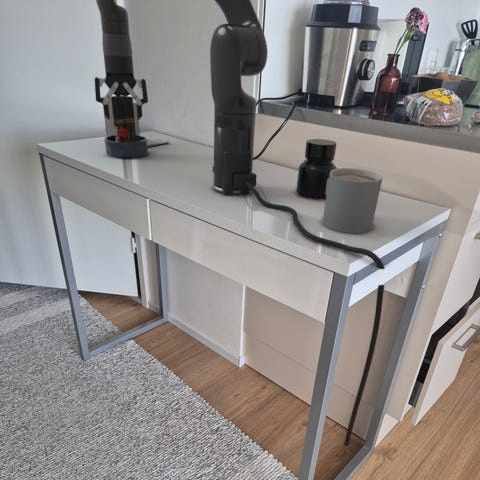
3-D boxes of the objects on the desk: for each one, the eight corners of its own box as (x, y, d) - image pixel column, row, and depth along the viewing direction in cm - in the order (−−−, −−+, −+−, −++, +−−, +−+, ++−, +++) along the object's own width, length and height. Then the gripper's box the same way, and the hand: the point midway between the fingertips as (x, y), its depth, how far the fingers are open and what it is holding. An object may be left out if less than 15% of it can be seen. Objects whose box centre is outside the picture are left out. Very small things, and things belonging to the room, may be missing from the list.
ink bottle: (336, 201, 101) (345, 147, 94) (298, 200, 101) (305, 145, 94) (328, 189, 109) (336, 138, 103) (293, 187, 109) (299, 136, 102)
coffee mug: (351, 237, 83) (361, 184, 77) (312, 221, 89) (319, 171, 84) (391, 223, 90) (403, 174, 85) (352, 209, 97) (361, 163, 91)
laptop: (170, 143, 146) (168, 100, 139) (140, 148, 138) (136, 103, 130) (136, 135, 155) (132, 94, 148) (106, 139, 147) (101, 96, 140)
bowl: (149, 158, 127) (148, 142, 125) (106, 159, 125) (104, 142, 122) (146, 149, 137) (145, 134, 135) (106, 149, 135) (104, 134, 132)
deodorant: (141, 152, 132) (137, 97, 123) (127, 156, 127) (121, 99, 119) (127, 149, 134) (121, 95, 126) (112, 152, 130) (106, 97, 122)
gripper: (89, 53, 112) (98, 121, 121) (145, 55, 115) (149, 121, 124) (90, 51, 118) (98, 116, 127) (144, 54, 121) (148, 117, 130)
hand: (123, 119), depth 126 cm, fingers open, 8 cm apart
